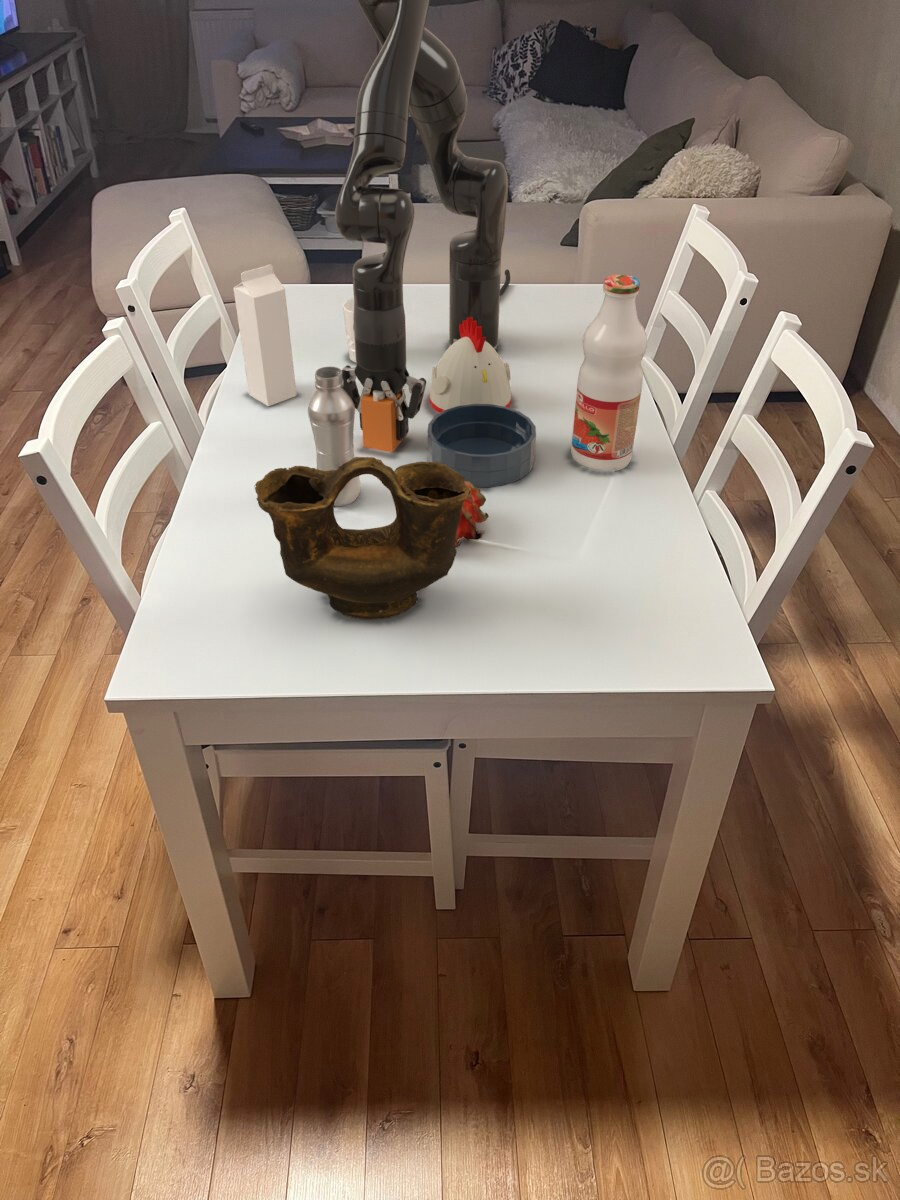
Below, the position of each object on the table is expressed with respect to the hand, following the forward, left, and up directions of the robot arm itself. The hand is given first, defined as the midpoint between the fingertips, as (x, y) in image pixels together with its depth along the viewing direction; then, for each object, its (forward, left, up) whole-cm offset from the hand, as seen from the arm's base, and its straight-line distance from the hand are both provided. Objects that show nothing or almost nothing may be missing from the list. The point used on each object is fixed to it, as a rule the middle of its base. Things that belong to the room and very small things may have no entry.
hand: (384, 434), depth 148 cm
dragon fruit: (+20, +19, -2) cm, 28 cm away
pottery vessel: (+36, +14, -2) cm, 39 cm away
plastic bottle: (+17, 0, -2) cm, 17 cm away
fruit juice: (-8, +33, -2) cm, 34 cm away
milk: (-9, -25, -2) cm, 27 cm away
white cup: (-29, -16, -2) cm, 33 cm away
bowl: (0, +16, -2) cm, 16 cm away
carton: (0, 0, -2) cm, 2 cm away
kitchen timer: (-18, +8, -2) cm, 20 cm away
